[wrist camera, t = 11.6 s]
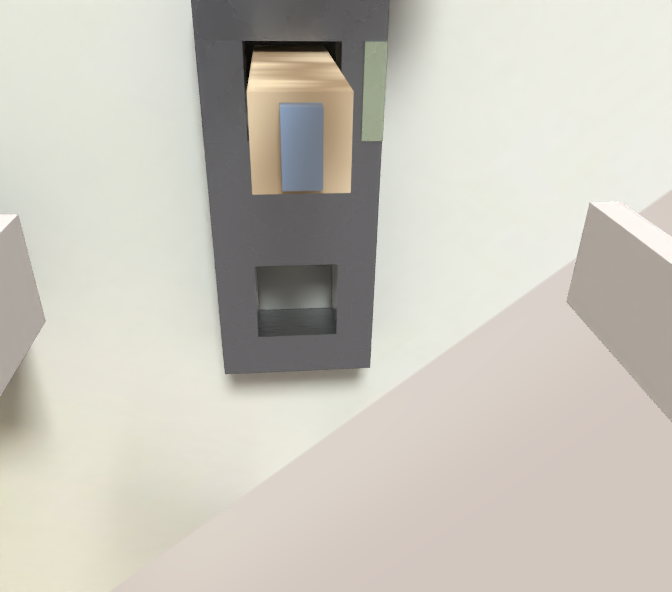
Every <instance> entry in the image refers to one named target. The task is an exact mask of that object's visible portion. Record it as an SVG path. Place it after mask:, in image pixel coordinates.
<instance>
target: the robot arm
mask: <svg viewBox="0 0 672 592" xmlns="http://www.w3.org/2000/svg"><path fill="white" fill-rule="evenodd" d="M567 303H568V304H569V305H570V307H571V308H572V309H573V310H574V311H575V312H576V313H577V315H578V316H579V317H580V318H581V319H582V320H583V321H584V323H585V324H586V325H587V326H588V327H589V328H590V329H591V331H592V332H593V333H594V334H595V335H596V336H597V337H598V339H599V340H600V341H601V342H602V343H603V344H604V345H605V346H606V348H607V349H608V350H609V351H610V352H611V353H612V354H613V356H614V357H615V358H616V359H617V360H618V361H619V362H620V364H621V365H622V366H623V367H624V368H625V369H626V371H627V372H628V373H629V374H630V375H631V376H632V377H633V379H634V380H635V381H636V382H637V383H638V384H639V385H640V386H641V388H642V389H643V390H644V391H645V392H646V393H647V395H649V397H650V398H651V399H652V400H653V401H654V403H655V404H656V405H657V406H658V407H659V408H660V409H661V411H662V412H663V413H664V414H665V415H666V416H667V417H668V419H670V421H671V422H672V237H671V236H669V235H668V234H666V233H665V232H663V231H662V230H661V229H659V228H658V227H656V226H655V225H653V224H652V223H650V222H649V221H647V220H646V219H645V218H643V217H642V216H640V215H639V214H637V213H636V212H634V211H633V210H631V209H630V208H629V207H627V206H626V205H624V204H623V203H621V202H590V203H589V208H588V212H587V216H586V220H585V225H584V229H583V233H582V237H581V242H580V246H579V250H578V255H577V259H576V263H575V267H574V272H573V276H572V280H571V284H570V289H569V293H568V297H567ZM45 322H46V321H45V317H44V313H43V309H42V305H41V301H40V298H39V294H38V290H37V286H36V282H35V278H34V274H33V270H32V266H31V262H30V259H29V255H28V251H27V247H26V243H25V239H24V235H23V231H22V227H21V223H20V219H19V216H18V214H5V215H0V396H1V395H2V393H3V391H4V390H5V388H6V386H7V385H8V383H9V381H10V380H11V378H12V376H13V375H14V373H15V371H16V370H17V368H18V366H19V365H20V363H21V361H22V360H23V358H24V356H25V355H26V353H27V351H28V350H29V348H30V347H31V345H32V343H33V342H34V340H35V338H36V337H37V335H38V333H39V332H40V330H41V328H42V327H43V325H44V323H45Z"/></svg>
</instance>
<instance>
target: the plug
mask: <svg viewBox="0 0 672 592" xmlns="http://www.w3.org/2000/svg"><path fill="white" fill-rule="evenodd" d="M353 98H354V91H353V90H352V88H351V87H350V85H349V83H348V82H347V80H346V79H345V77H344V76H343V74H342V73H341V71H340V69H339V68H338V66H337V65H336V63H335V62H334V60H333V59H332V57H331V56H330V54H329V52H328V51H327V49H326V48H325V46H324V45H254V49H253V56H252V62H251V68H250V74H249V80H248V87H247V107H248V125H249V143H250V162H251V180H252V195H262V194H317V193H351V167H352V132H353Z"/></svg>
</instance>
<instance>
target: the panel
mask: <svg viewBox="0 0 672 592" xmlns="http://www.w3.org/2000/svg"><path fill="white" fill-rule="evenodd" d="M191 6H192V17H193V28H194V39H195V50H196V61H197V72H198V83H199V94H200V105H201V116H202V127H203V138H204V149H205V160H206V171H207V182H208V193H209V204H210V215H211V226H212V237H213V248H214V259H215V270H216V281H217V292H218V303H219V314H220V325H221V336H222V347H223V358H224V368H225V374H239V373H261V372H283V371H305V370H328V369H350V368H370V357H371V338H372V320H373V301H374V282H375V263H376V244H377V225H378V206H379V188H380V169H381V150H382V141H383V124H384V105H385V87H386V68H387V49H388V42H387V37H388V18H389V0H191ZM245 41H335V63H336V65H337V66H338V68H339V69H340V71H341V73H342V74H343V76H344V77H345V79H346V80H347V82H348V83H349V85H350V87H351V88H352V90H353V91H354V98H353V132H352V167H351V193H317V194H262V195H252V180H251V162H250V143H249V125H248V107H247V75H246V56H245ZM331 264H332V308H310V309H282V310H259V298H258V280H257V267H261V266H296V265H331Z"/></svg>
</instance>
